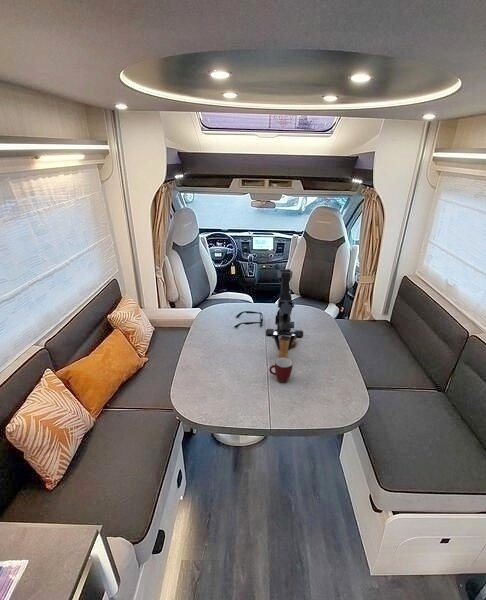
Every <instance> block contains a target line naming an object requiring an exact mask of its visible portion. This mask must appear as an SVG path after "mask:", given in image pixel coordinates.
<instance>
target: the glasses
mask: <svg viewBox="0 0 486 600" xmlns="http://www.w3.org/2000/svg"><path fill="white" fill-rule="evenodd" d="M244 313H245V314H258V315H259V319H260V321H246V322H240V323H237V324H235V325H234V328H236V329H237V328H239V327H240V326H241V325H246V326H247V325H248V326H249V325H254V324H255V325H256V324H260V325H259V327H262V325H263V322H264V315H263V313H262V312H260V311H259V312H258V311H251V310H244V311H241V312H239V313H238V314H237V315H235V317H236V318H240V316H241V315H242V314H244Z"/></svg>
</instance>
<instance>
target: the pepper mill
mask: <svg viewBox="0 0 486 600" xmlns="http://www.w3.org/2000/svg"><path fill="white" fill-rule="evenodd" d="M287 336H288V335H281V338H280V337H279V338H280V342H279V350H278V356H277V357H278V358H288V359H289V351H290V350H289V338H288V337H287ZM278 358H277V359H278Z"/></svg>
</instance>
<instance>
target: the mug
mask: <svg viewBox="0 0 486 600" xmlns="http://www.w3.org/2000/svg"><path fill="white" fill-rule="evenodd" d="M272 369H274V370H275V371H274V372H273V371H272ZM268 371H269V373H270V374H271V375H273V376H275V377H276V379H277V380H278V382H279V383H286V382H287V381H288V380H289V379H290V377H291V374H292V371H293V361H292V360H291V358H289V357H288V358H276V359H275V361H274V364H272V365H270V366H269V368H268Z"/></svg>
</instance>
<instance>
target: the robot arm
mask: <svg viewBox="0 0 486 600" xmlns="http://www.w3.org/2000/svg"><path fill="white" fill-rule="evenodd" d="M277 278H278V281H279V284H280V293H279V298H277V308H279V309H278V310H277V312H276V314H275V319H274V325H275V326H276V329H274V328H266V329H265V337H270V338H272V339H273V340H274V341H275V344H276V348H277V350H278V351H279V338H280V337H279V336H290V342H289V351H290V350H291V348H292V347H291V344H292V342H293V340H296V339H303V338H304V330H301V329H300V330H299V329H295V321H292V317H291V315H292V311H293V308H294V307H295V302H294V300H293V299H292V294H291V293H290V282H291V280H292V278H293V270H291V268H279V270H277ZM291 329H295V331H291ZM296 341H297V340H296ZM290 347H291V348H290Z"/></svg>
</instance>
